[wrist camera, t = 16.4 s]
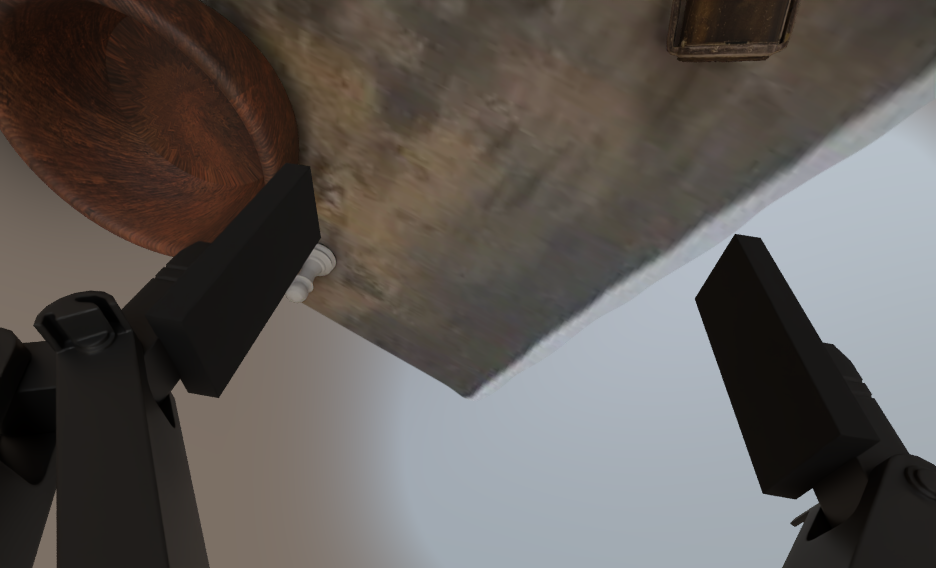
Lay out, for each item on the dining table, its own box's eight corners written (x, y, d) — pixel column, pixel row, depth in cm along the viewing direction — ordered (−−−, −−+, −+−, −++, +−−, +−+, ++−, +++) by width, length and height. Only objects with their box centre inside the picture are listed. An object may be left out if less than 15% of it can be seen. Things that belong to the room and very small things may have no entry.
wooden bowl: (260, -65, 36) (183, -50, 28) (351, 206, 52) (317, 261, 44) (8, -26, 40) (-118, -4, 33) (164, 212, 56) (105, 264, 49)
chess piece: (337, 273, 60) (314, 316, 54) (303, 267, 60) (276, 309, 54) (335, 245, 56) (310, 288, 50) (298, 238, 56) (269, 280, 50)
